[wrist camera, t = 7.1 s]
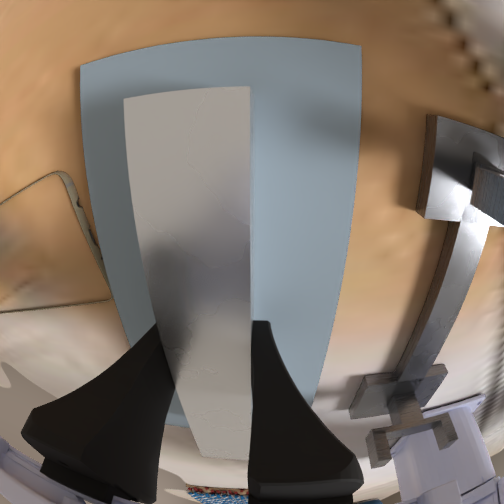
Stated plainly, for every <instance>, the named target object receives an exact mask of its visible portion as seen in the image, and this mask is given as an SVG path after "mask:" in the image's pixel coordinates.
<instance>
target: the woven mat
mask: <svg viewBox="0 0 504 504" xmlns="http://www.w3.org/2000/svg"><path fill="white" fill-rule="evenodd" d="M186 487H189V488H188V490H187V491H190V492H187V494H189V495H191V496H192V497H194V498H195V499H197V500H198V501H200V502H201V503H203V504H248V493H249V492H248V489H245V490H244V489H241V490H240V489H225V488H211V487H210V488H209V487H200V486H192V485H189V484H187V483H186Z"/></svg>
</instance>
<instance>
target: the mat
mask: <svg viewBox="0 0 504 504" xmlns="http://www.w3.org/2000/svg"><path fill="white" fill-rule="evenodd" d="M236 86H250V87H251V89H252V91H253V93H254V95H255V231H254V320H267V321H269V322H270V323H271V329H272V333H273V337H274V340H275V343H276V346H277V348H278V351H279V353H280V355H281V358H282V360H283V362H284V364H285V366H286V368H287V370H288V372H289V374H290V376H291V378H292V380H293V382H294V383H295V385H296V387H297V388H298V390H299V391H300V393H301V395H302V396H303V398H304V399H305V400H306V402H307V403H308V405H309V406H310V407H311V406H312V403H313V400H314V396H315V393H316V390H317V386H318V383H319V379H320V375H321V372H322V368H323V364H324V360H325V356H326V352H327V348H328V344H329V340H330V336H331V332H332V327H333V323H334V319H335V314H336V309H337V305H338V300H339V295H340V290H341V284H342V279H343V274H344V268H345V262H346V256H347V250H348V244H349V237H350V230H351V223H352V216H353V208H354V199H355V190H356V181H357V170H358V159H359V145H360V128H361V102H362V52H361V46H359V45H353V44H347V43H340V42H333V41H325V40H316V39H305V38H291V37H226V38H212V39H201V40H192V41H184V42H177V43H170V44H164V45H158V46H153V47H148V48H143V49H138V50H134V51H130V52H125V53H121V54H118V55H114V56H110V57H107V58H103V59H100V60H96V61H93V62H90V63H87V64H84V65H81V66H80V102H81V124H82V138H83V149H84V158H85V167H86V174H87V181H88V188H89V194H90V200H91V206H92V212H93V217H94V222H95V227H96V231H97V236H98V241H99V245H100V249H101V253H102V257H103V261H104V265H105V269H106V273H107V276H108V280H109V283H110V287H111V290H112V294H113V297H114V300H115V303H116V307H117V310H118V313H119V316H120V319H121V322H122V325H123V327H124V330H125V333H126V336H127V339H128V341H129V344H130V347H131V348H132V347H133V346H134V345H135V344H136V343H137V342H138V341H139V340H140V339H141V338H142V337H143V336H144V334H145V333H146V332H147V331H148V330H149V329H150V328H151V327H152V326H153V325H154V324H155V323H156V320H155V316H154V312H153V308H152V304H151V300H150V296H149V291H148V287H147V282H146V278H145V273H144V268H143V263H142V258H141V253H140V248H139V242H138V236H137V231H136V225H135V218H134V212H133V205H132V197H131V190H130V181H129V172H128V163H127V152H126V139H125V123H124V99H125V98H130V97H136V96H142V95H148V94H155V93H162V92H170V91H178V90H188V89H199V88H213V87H236ZM165 424H167V425H173V426H180V427H187V428H190V426H189V423H188V421H187V418H186V415H185V413H184V410H183V407H182V405H181V402H180V399H179V396H178V393H177V390H176V388H175V391H174V395H173V398H172V401H171V404H170V407H169V410H168V413H167V417H166V421H165Z"/></svg>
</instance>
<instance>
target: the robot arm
mask: <svg viewBox="0 0 504 504" xmlns="http://www.w3.org/2000/svg"><path fill="white" fill-rule="evenodd" d="M251 371H252V404H253V407H252V422H251V437H250V450H249V463H248V492H249V493H248V504H353V495H352V494H353V493H354V492H355V491H357V490H358V489H359V488H360V487H361V486H362V485H363V484H364V478H363V474H362V470H361V468H360V465H359V462H358V460H357V458H356V456H355V454H354V453H353V452H351V451H350V450H349V449H348V448H347V447H346V446H345V445H344V444H343V443H342V442H341V441H340V440H338V439H337V438H336V437H335V435H334V434H333V433H332V432H331V431H330V430H329V429H328V428H327V427H326V426H325V425H324V423H323V422H322V421H321V420H320V419H319V417H318V416H317V415H316V414H315V413H314V411H313V410H312V409H311V407H310V406H309V405H308V403H307V402H306V400H305V399H304V398H303V396H302V395H301V393H300V391H299V390H298V388H297V387H296V385H295V383H294V382H293V380H292V378H291V376H290V374H289V372H288V370H287V368H286V366H285V364H284V362H283V360H282V358H281V355H280V353H279V351H278V348H277V346H276V343H275V340H274V337H273V333H272V329H271V323H270V322H269V321H267V320H253V327H252V339H251ZM175 388H176V387H175V384H174V381H173V378H172V375H171V372H170V369H169V366H168V362H167V359H166V356H165V352H164V349H163V346H162V342H161V338H160V335H159V331H158V327H157V324H156V323H155V324H154V325H153V326H152V327H151V328H150V329H149V330H148V331H147V332H146V333H145V334H144V336H143V337H142V338H141V339H140V340H139V341H138V342H137V343H136V344H135V345H134V346H133V347H132V348H131V349H129V350H128V351H127V352H126V353H125V354H124V355H123V356H122V357H121V358H120V359H119V360H117V361H116V362H115V363H114V364H113V365H112V366H110V367H109V368H108V369H107V370H105V371H104V372H103V373H101V374H100V375H99V376H97V377H96V378H94V379H93V380H91V381H90V382H88V383H86V384H85V385H83V386H82V387H80V388H78V389H77V390H75V391H73V392H71V393H69V394H67V395H65V396H63V397H61V398H59V399H57V400H55V401H52V402H50V403H47V404H45V405H42V406H40V407H37V408H34V409H33V410H32V411H31V413H30V415H29V417H28V419H27V421H26V423H25V425H24V427H23V429H22V431H21V434H22V437H23V438H24V439H25V440H26V441H27V442H28V443H29V444H30V445H31V446H32V447H33V448H34V449H36V450H37V451H38V452H39V453H40V454H41V455H43V456H44V457H45V459H44V462H43V464H41V463H39V462H37V461H35V460H34V459H32V458H30V457H28V456H27V455H25V454H23V453H22V452H20V451H18V450H17V449H15V448H14V447H12V446H11V445H9V443H8V442H7V441H6V440H4V439H3V438H2V437H1V436H0V493H1V494H2V495H3V496H4V497H5V498H6V499H7V500H9V501H10V502H11V503H12V504H86V503H85V501H84V500H86V501H88V502H90V503H93V504H139V503H136V502H141V503H144V504H152V503H154V502H155V501H156V491H157V475H158V466H159V457H160V450H161V443H162V437H163V431H164V425H165V421H166V417H167V413H168V410H169V407H170V404H171V401H172V398H173V395H174V391H175ZM485 398H486V396H485V394H481V395H479V396H476V397H473V398H470V399H467V400H464V401H461V402H458V403H454V404H451V405H448V406H444V407H441V408H437V409H433V410H429V411H426V412H423V413H422V415H423V417H424V419H425V418H429V417H433V416H436V415H440V414H443V413H447V412H448V413H449V415H450V418H451V420H452V423H453V425H454V428H455V431H456V433H457V436H458V440H456V441H455V442H454V443H453V444H452V445H451V446H450V447H449V448H446V449H443V450H440V451H439V448H438V444H437V441H436V438H435V435H434V432H433V429H430V430H427V431H423V432H420V433H416V434H412V435H408V436H403V437H401V438H400V439H399V441H398V442H397V443H396V444H395V445H394V446H393V447H392V448H391V449H390V453H391V457H392V458H393V460H394V464H395V469H396V474H397V478H398V483H399V489H400V494H401V499H402V502H400V503H396V504H504V477H502V478H501V479H500V476H499V477H496V478H494V477H495V476H496V475H495V471H494V468H493V465H492V462H491V459H490V456H489V453H488V451H487V448H486V445H485V442H484V440H483V437H482V435H481V432H480V430H479V427H478V425H477V422H476V420H475V418H474V415H473V412H474V411H475V410H476V409H477V408H478V406H479V405H480V404H481V403H482V402H483V400H484V399H485ZM493 478H494V479H493ZM491 479H492V480H491ZM130 500H132V501H135V502H132V501H130Z"/></svg>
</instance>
